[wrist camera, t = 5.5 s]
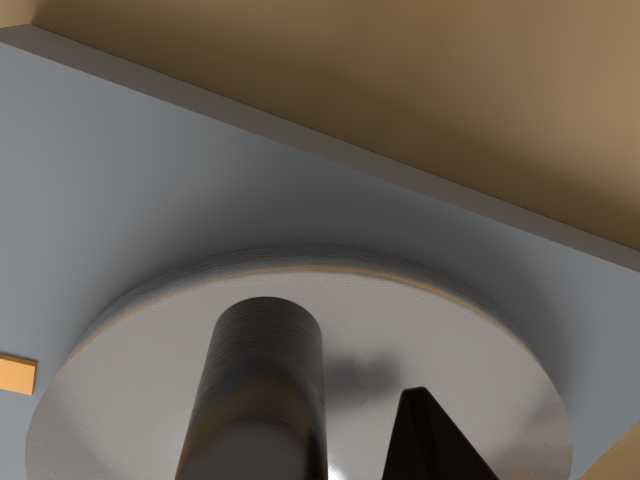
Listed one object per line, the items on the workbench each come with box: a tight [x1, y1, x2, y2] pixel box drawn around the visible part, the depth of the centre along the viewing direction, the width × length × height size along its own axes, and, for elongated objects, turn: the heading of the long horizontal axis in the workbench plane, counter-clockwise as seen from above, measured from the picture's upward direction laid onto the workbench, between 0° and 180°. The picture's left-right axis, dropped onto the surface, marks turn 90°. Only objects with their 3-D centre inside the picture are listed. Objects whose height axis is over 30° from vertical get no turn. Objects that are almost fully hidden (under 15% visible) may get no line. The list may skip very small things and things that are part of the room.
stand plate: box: [0, 24, 640, 480], centre depth 16 cm, size 20×18×2 cm
